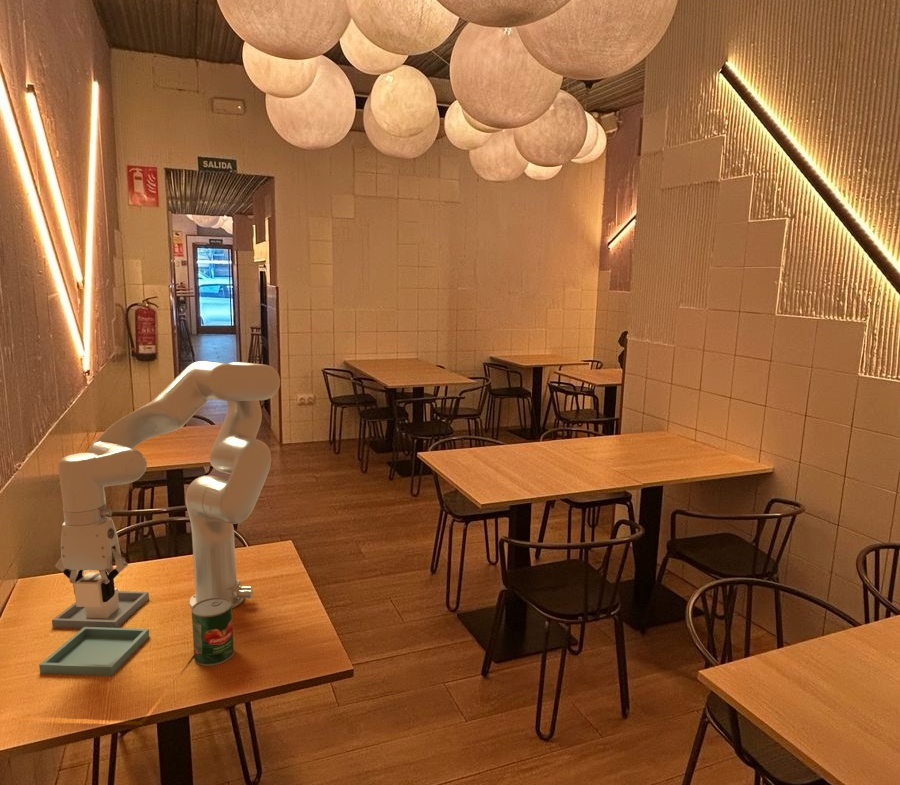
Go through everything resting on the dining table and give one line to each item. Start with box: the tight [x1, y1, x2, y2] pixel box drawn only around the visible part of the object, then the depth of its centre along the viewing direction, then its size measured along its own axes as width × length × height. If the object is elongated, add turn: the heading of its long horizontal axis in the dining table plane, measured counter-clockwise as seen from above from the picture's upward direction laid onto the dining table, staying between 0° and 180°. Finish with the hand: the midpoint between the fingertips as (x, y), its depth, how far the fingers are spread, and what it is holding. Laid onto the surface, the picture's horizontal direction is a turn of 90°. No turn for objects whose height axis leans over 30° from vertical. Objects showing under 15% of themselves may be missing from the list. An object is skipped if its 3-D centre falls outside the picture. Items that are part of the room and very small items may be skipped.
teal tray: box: [39, 627, 150, 677], centre depth 135 cm, size 15×15×2 cm
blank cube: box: [85, 587, 119, 618], centre depth 152 cm, size 5×5×5 cm
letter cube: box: [73, 572, 106, 607], centre depth 133 cm, size 5×5×5 cm
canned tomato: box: [190, 597, 235, 667], centre depth 135 cm, size 8×8×11 cm
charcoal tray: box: [51, 590, 150, 630], centre depth 152 cm, size 15×15×2 cm
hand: (95, 597), depth 134 cm, fingers closed on letter cube, 4 cm apart
